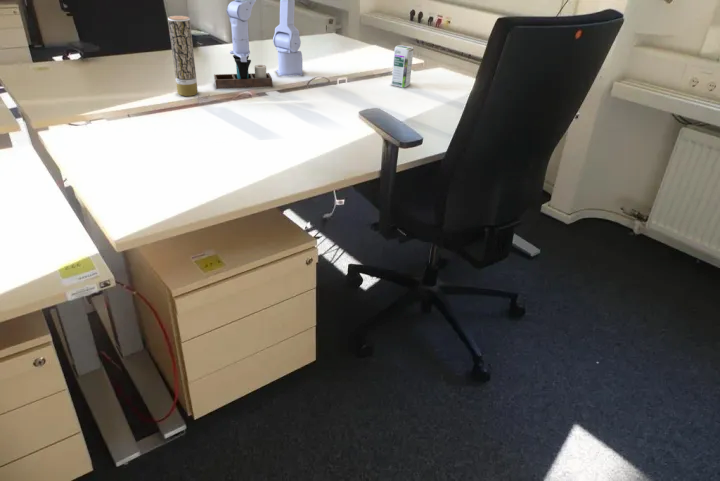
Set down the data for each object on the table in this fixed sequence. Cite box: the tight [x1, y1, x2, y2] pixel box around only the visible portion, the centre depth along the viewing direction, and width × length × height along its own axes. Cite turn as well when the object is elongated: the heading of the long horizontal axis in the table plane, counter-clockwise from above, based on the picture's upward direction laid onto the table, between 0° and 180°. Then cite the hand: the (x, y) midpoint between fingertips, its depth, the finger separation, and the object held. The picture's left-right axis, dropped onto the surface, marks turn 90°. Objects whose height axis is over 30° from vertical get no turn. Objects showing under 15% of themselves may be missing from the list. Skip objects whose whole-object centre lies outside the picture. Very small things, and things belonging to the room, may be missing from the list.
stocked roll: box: [254, 64, 267, 78], centre depth 198 cm, size 4×4×6 cm
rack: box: [213, 72, 273, 90], centre depth 198 cm, size 20×7×4 cm, turn 107°
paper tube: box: [167, 15, 199, 97], centre depth 181 cm, size 7×7×25 cm
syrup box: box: [390, 44, 414, 88], centre depth 206 cm, size 6×6×14 cm
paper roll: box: [235, 63, 250, 79], centre depth 196 cm, size 4×4×6 cm
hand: (243, 77), depth 197 cm, fingers closed on paper roll, 4 cm apart
